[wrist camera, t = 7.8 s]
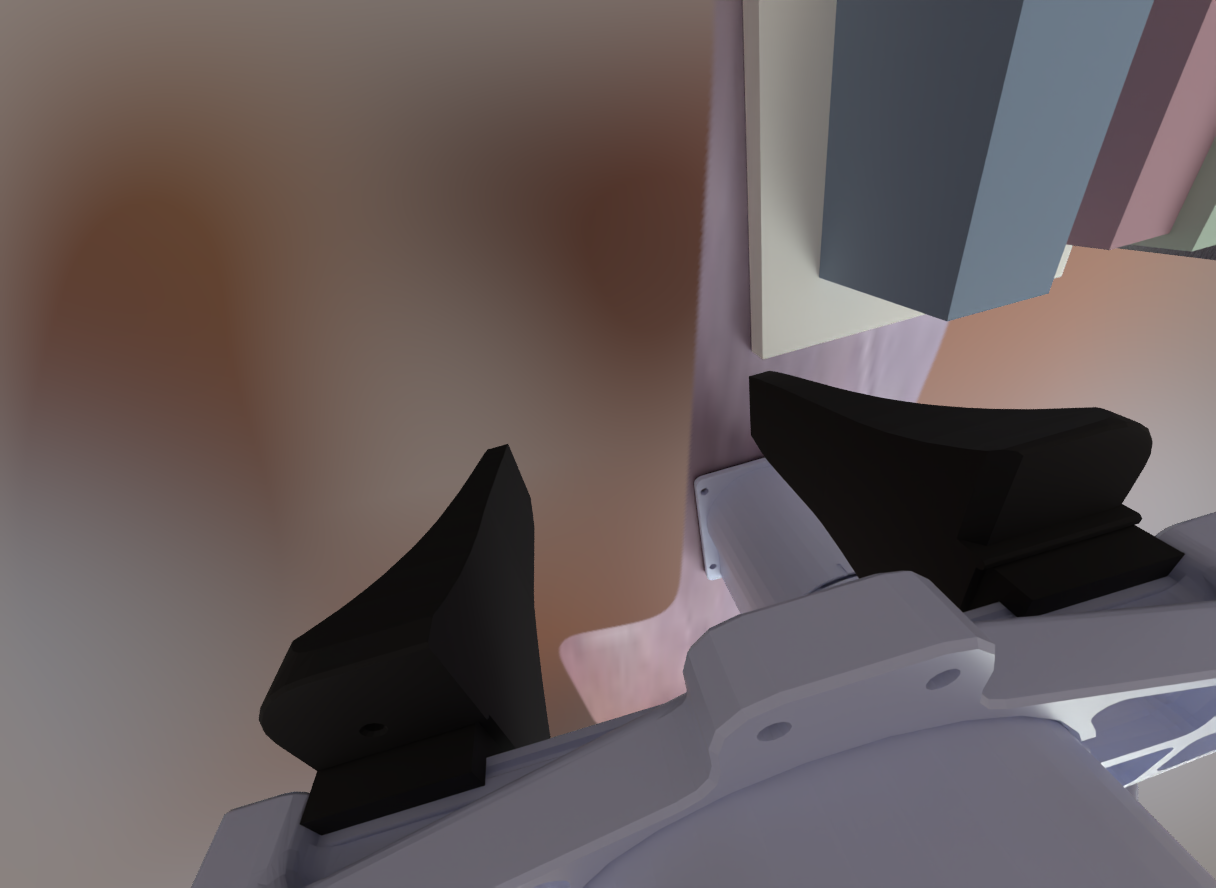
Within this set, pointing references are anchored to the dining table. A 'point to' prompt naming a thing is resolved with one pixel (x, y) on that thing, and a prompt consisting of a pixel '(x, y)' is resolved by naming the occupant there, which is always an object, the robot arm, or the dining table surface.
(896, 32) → the slate book
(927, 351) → the dining table surface
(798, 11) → the shelf board
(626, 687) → the dining table surface
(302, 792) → the robot arm
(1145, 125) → the books
